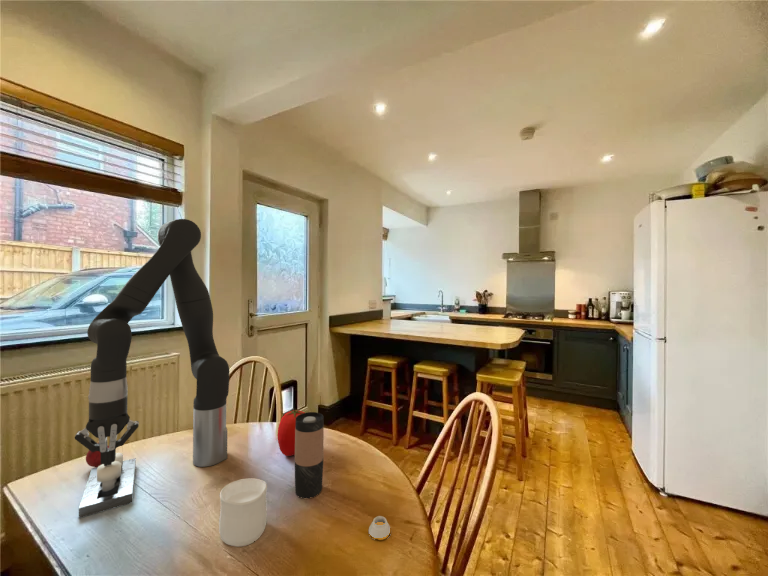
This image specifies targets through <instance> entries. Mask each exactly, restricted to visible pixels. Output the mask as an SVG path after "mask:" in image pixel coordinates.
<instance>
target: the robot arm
mask: <svg viewBox="0 0 768 576" xmlns="http://www.w3.org/2000/svg"><path fill="white" fill-rule="evenodd" d="M156 237H157V241H158V245H159V247H158V249H157V250H156V251H155V253H154V254H153V255H152V256H151V257H150V259H148V261H146V262H145V263H144V264H143V265H142V266H141V267H140V268H139V269H138V270H137V271H135V273H133V274H132V276H131V277H130V278H129V279H128V281H127V282H125V284H124V286H123V287H122V288H121V289H120V291H119V292H118V293H117V295H116V296H115V298H114V299H113V300H112V301H111V302H110V303H109V304H108V305H106V306H105V307H104V308H103V309H102V310H101V312H99V313H98V314H97V315H96V316H95V318H94V319H93V320H92V321H91V322H90V324H89V326H88V328H87V338H88V339H89V340H90V341H91V342H92V343H95V344H96V345H97V347H96V357H94V358H92V361H91V362H90V363H91V364H90V383H89V388H88V396H87V397H88V421H87V422H86V424H85V427H84V428H83V429H82V430H78V431H77V432H76V434H75V435H74V440H76V441H77V442H78V443H80V444H81V445H82V446H83V447H85V448H86V449H87V450H88V451H89V450H90V451H91V452H95V451H99V452H100V453H101V464H104V466H108V465H111V464H112V462H114V461H115V458H116V453H117V451H116V450H117V448H119V447H123V446H124V445H125V443H127V441H128V440H129V439H130V438H131V436H132V435H133V434H134V433H135V431H136V430H137V429H138V428H139V424H140V421H139V420H135V421H134V420H132V419H131V417H130V416H129V414H128V392H129V391H128V389H129V388H128V387H129V385H128V379H127V371H128V370H127V369H128V368H127V359H128V356H129V353H130V349H131V344H132V338H133V337H132V336H133V334H132V329H131V326H130V324H129V323H130V322H131V321H132V319H133V318H134V317H135V316H139V315H140V314H142V313H143V312H144V311H145V310H146V309H147V307H148V306H149V304H150V303H151V301H152V300H153V298H154V297H155V295H156V294H157V292H158V291H159V290H160V288H161V287H162V285H163V284H164V283H165V282H166V280H167V279H168V278H169V279H170V282H171V287H172V291H173V295H174V296H173V297H174V300H175V305H176V309H177V312H178V317H179V319H180V323H181V326H182V329H183V333H184V335H185V338H186V340H187V344H188V351H189V359H190V368H191V369H190V370H191V373H192V376H193V377H194V379H195V380H196V392H195V393H196V395H195V397H194V398H193V409H192V411H193V416H192V417H193V419H192V422H193V423H192V424H193V425H192V426H193V427H192V464H193V465H194V466H195V467H198V468H199V467H200V468H202V467H203V468H204V467H210V466H214V465H217V464H219V463H221V462H222V461H224V460H227V459H228V428H227V398H228V395H229V390H230V389H229V388H230V365H229V363H228V361H227V360H226V359H225V358H223V357H222V356H220V355H219V352H218V350H217V346H216V344H215V341H214V334H213V333H214V331H213V330H214V329H213V328H214V309H213V304H212V300H211V296H210V292H209V290H208V288H207V286H206V284H205V282H204V281H203V279H202V278H201V276H200V274H199V273H198V271H197V269H196V266H195V264H194V260H193V256H192V251H193V250H195V248H196V247H197V246H198V245H199V243H200V241H201V238H202V233H201V229H200V227H199V226H198V225H197V223H195V222H194V221H193V220H190V219H187V218H178V219H173V220H170V221H167V222H165V223H163V224H162V225H161V226H160V227H159V228H158V230H157V234H156ZM125 427H126V429H127V430H126V431H125V432H124V433H123V434H122V435H121V437H120V438H118V439H117V437H118V435H119V434H120V433H121V432H122V431H123V429H125ZM90 434H91V435H93V436H94V438H97V439H98V441H99V444H98V443H97V442H98V441H96V440H94V439H93V438H92V437H91V436H89V435H90ZM108 438H109V445H108ZM108 446H109V448H108Z"/></svg>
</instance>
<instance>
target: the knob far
mask: <svg viewBox="0 0 768 576" xmlns="http://www.w3.org/2000/svg"><path fill="white" fill-rule="evenodd" d="M115 461H118V462H120V463H121V466H122V465H123V461H124V454H123V453H122V452H116V458H115Z"/></svg>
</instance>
